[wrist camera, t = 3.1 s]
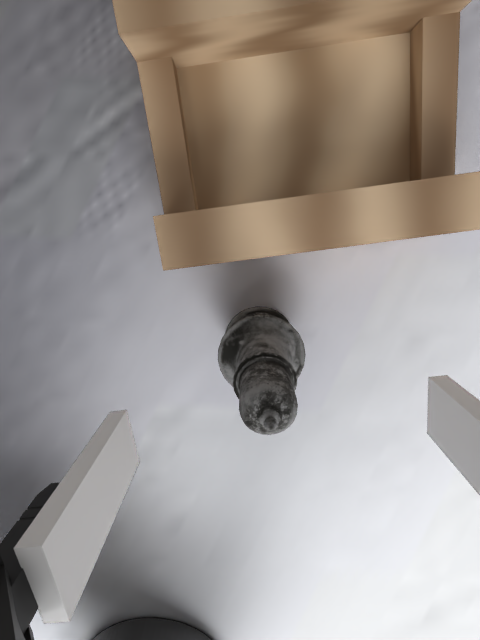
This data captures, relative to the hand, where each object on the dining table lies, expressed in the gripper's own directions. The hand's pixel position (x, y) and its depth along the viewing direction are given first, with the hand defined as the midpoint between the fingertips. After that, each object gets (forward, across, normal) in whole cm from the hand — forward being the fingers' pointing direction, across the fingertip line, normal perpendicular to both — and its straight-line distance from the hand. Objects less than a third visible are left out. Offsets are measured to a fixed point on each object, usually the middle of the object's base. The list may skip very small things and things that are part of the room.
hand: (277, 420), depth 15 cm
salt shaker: (+12, 0, 0) cm, 12 cm away
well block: (+12, +4, +14) cm, 19 cm away
